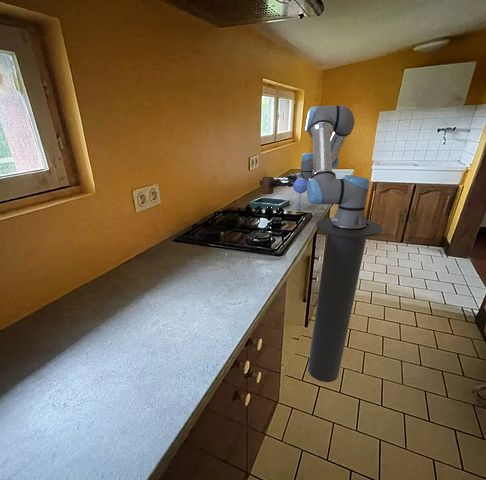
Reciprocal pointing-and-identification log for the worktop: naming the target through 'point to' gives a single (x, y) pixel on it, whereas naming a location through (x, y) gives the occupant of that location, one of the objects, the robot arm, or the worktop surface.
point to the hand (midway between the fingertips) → (264, 183)
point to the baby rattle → (300, 188)
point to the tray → (269, 203)
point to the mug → (265, 185)
